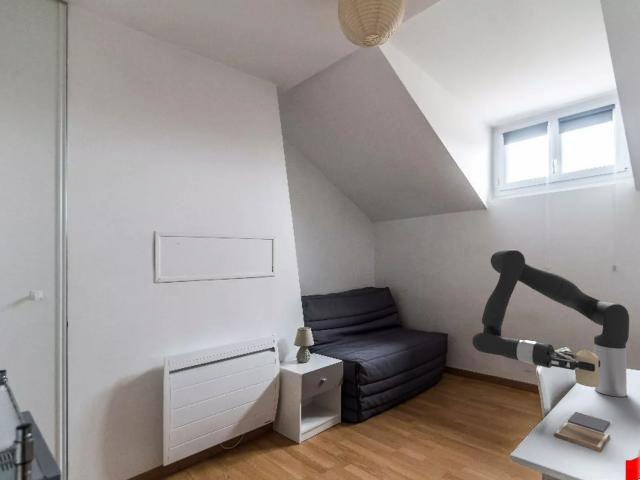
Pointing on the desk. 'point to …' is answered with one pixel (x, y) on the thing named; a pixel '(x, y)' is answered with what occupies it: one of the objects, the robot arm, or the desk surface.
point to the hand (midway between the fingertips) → (597, 365)
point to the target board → (582, 436)
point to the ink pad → (589, 422)
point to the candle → (583, 375)
